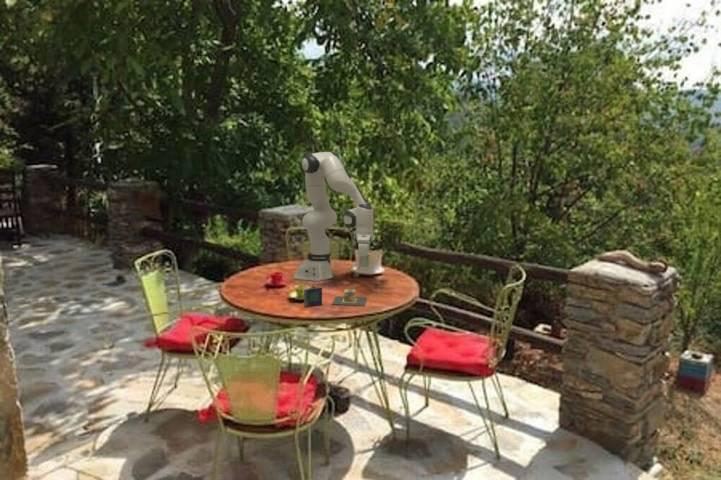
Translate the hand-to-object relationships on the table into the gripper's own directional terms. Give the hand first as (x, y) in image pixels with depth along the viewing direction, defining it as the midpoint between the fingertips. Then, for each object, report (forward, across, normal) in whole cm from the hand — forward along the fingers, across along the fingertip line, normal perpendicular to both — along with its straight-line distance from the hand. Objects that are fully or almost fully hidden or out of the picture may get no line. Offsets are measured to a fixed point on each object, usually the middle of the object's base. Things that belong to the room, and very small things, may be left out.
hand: (364, 262), depth 302 cm
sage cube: (+2, 0, 0) cm, 2 cm away
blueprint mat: (+16, +15, -6) cm, 23 cm away
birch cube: (+16, +15, -6) cm, 23 cm away
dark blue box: (+17, +23, -23) cm, 37 cm away
